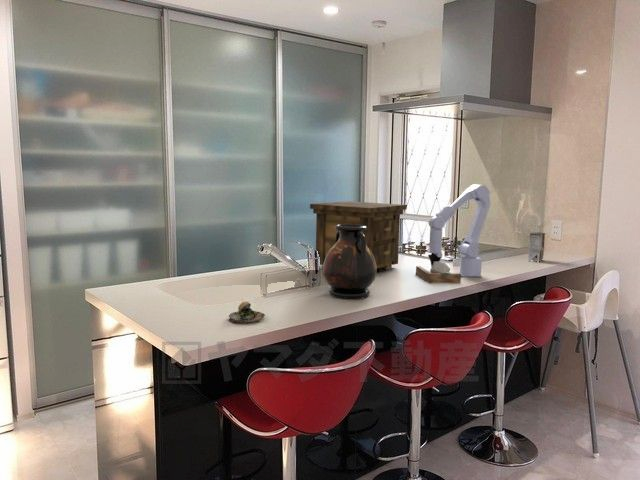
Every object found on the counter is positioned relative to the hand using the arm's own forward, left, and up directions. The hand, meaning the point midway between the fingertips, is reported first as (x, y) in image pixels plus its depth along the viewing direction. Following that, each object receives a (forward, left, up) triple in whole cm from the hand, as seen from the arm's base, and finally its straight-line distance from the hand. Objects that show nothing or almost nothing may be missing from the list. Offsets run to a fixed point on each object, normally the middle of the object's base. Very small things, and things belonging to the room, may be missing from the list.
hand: (434, 269), depth 254 cm
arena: (0, +6, -3) cm, 6 cm away
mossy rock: (+88, +71, -3) cm, 113 cm away
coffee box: (-74, -40, -3) cm, 84 cm away
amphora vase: (+48, +38, -3) cm, 61 cm away
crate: (+34, -19, -3) cm, 39 cm away
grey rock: (-1, +6, -3) cm, 7 cm away
